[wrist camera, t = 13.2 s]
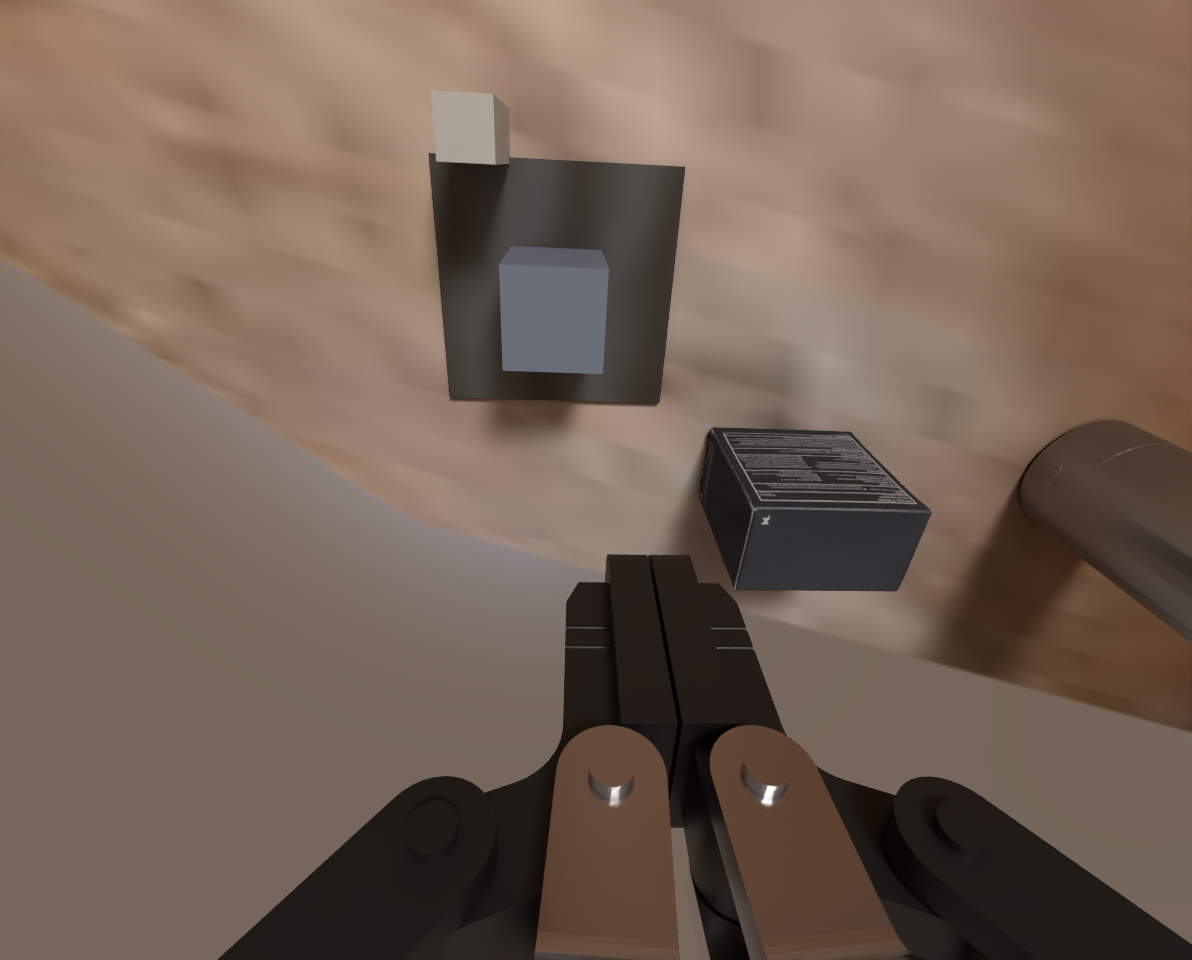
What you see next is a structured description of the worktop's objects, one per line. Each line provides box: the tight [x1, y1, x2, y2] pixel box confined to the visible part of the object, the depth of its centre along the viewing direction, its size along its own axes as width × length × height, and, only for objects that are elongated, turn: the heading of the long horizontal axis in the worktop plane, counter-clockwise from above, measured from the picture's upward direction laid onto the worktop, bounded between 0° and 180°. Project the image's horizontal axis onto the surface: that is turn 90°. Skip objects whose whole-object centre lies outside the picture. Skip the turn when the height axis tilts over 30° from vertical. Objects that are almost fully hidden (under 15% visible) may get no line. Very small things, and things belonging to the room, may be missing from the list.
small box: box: [699, 428, 932, 591], centre depth 37 cm, size 11×6×10 cm, turn 87°
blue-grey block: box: [499, 246, 609, 374], centre depth 31 cm, size 5×5×7 cm
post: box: [431, 90, 510, 165], centre depth 27 cm, size 3×3×7 cm
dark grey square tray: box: [429, 153, 685, 403], centre depth 31 cm, size 14×14×7 cm
